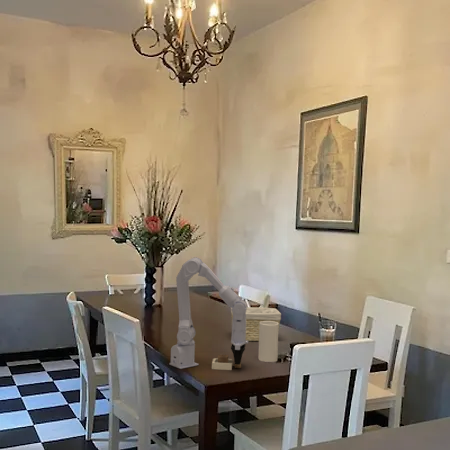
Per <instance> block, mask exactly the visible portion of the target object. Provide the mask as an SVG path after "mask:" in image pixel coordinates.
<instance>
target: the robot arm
mask: <svg viewBox="0 0 450 450" xmlns="http://www.w3.org/2000/svg"><path fill="white" fill-rule="evenodd" d="M196 274H197V276H198V277H203V278H205V279H207V281H208V282H209V283H210V284H211V285H212V286H213V287H214V288H215V289H216V290H217V291H218V296H219V298H220V299H222V301H223V302H224V303H225V304H226V305H227V306H228V307H229V308H230V309H231V308H232V312H233V318H231V339H230V343H231V347H230V350H231V352H232V355H233V361H234V362H233V363H234V364H237V365H240V363H241V364H242V359H243V354H244V352H245V350H246V344H249V341H246V309H247V307H248V306H247V303H246V301H245V300H244V299H243V298H242V296H239V295H238V294H237V293H236V292H235V288H234V287H233V286H232V287H231V286H230V285H225V284H224V283H223V282H222V281H221V280H220V278H219V277H218V276H217V275H216V274H215V273H214V271H213V270H212V269H211V268H210V267H209V266H208V264H206V263H205V262H204V261H203V260H202V259H201V258H199V257H191V258H190V259H187V261H185V262H184V263H183V264H182V266H181V267H180V270H179V272H178V274H177V275H176V276H175V277H176V279H175V281H176V282H175V283H176V294H177V296H176V297H177V307H178V308H177V309H178V318H179V319H178V320H179V321H178V330H177V331H178V332H177V334H176V339H177V342H176V344H175V345H173V346H171V348H170V362H169V365H170V366H172V367H174V368H177V369H180V370H183V369H187V368H192V367H196V366H199V363H197V362H195V351H196V349H195V348H196V344H195V343H196V341H195V340H194V338H195V336H196V329H195V327H194V324H193V320H192V311H191V300H190V297H191V296H190V287H189V281H190V280H191V278H193V276H195V275H196Z"/></svg>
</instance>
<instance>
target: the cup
mask: <svg viewBox="0 0 450 450" xmlns="http://www.w3.org/2000/svg"><path fill="white" fill-rule="evenodd" d="M278 326H279V327H280V324H279V323H278V322H274V321H261V322H260V325H259V341H258V361H260V362H263V363H264V362H266V363H275V362H278V355H279V354H278V353H279V350H278V348H279V347H278V346H279V332H278Z"/></svg>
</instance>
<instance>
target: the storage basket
mask: <svg viewBox="0 0 450 450" xmlns="http://www.w3.org/2000/svg"><path fill="white" fill-rule="evenodd" d="M230 314H231V315H230V316H231V319H232V318H233V312H232V308H231V307H230ZM281 320H282V313H281V312H280V311H279V310H278V309H277V308H275V307H274V308H273V307H256V306H255V307H253V306H252V307H251V306H250V307H248V306H247V309H246V341H248V342H259V325H260V322H261V321H274V322H278V323H279V326H278V333H279V331H280V330H279V329H280V323H281Z"/></svg>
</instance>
